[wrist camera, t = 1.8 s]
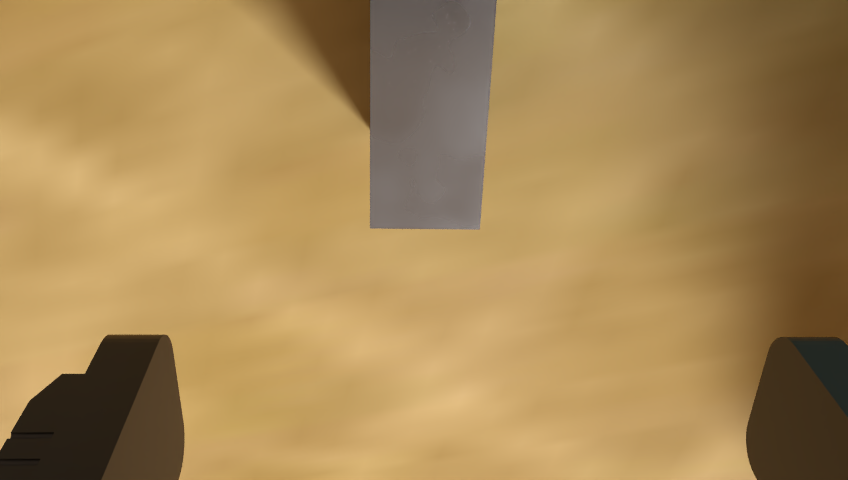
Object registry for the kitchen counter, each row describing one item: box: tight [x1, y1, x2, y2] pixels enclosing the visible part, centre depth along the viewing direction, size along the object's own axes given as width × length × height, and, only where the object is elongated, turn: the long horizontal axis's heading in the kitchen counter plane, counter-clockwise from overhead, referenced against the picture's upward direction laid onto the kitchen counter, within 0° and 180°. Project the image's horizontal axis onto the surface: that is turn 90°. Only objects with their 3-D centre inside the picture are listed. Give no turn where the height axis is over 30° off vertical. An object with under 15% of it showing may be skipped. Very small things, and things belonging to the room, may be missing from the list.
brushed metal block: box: [370, 0, 497, 229], centre depth 24 cm, size 7×3×7 cm, turn 178°
